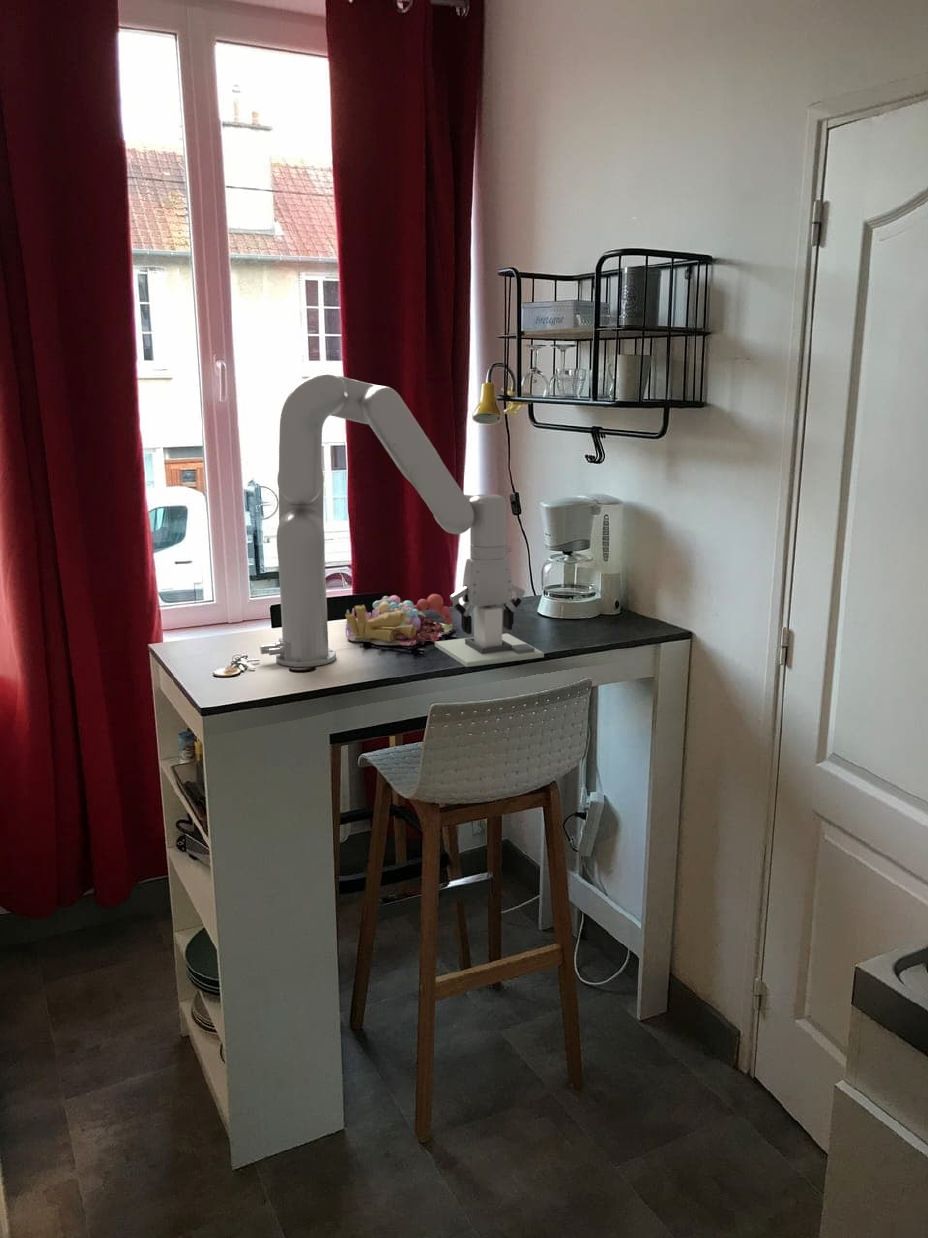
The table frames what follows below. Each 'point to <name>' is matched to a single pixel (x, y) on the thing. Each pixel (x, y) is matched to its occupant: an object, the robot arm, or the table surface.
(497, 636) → the plug
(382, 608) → the candy landscape model
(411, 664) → the table surface
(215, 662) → the table surface
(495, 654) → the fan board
